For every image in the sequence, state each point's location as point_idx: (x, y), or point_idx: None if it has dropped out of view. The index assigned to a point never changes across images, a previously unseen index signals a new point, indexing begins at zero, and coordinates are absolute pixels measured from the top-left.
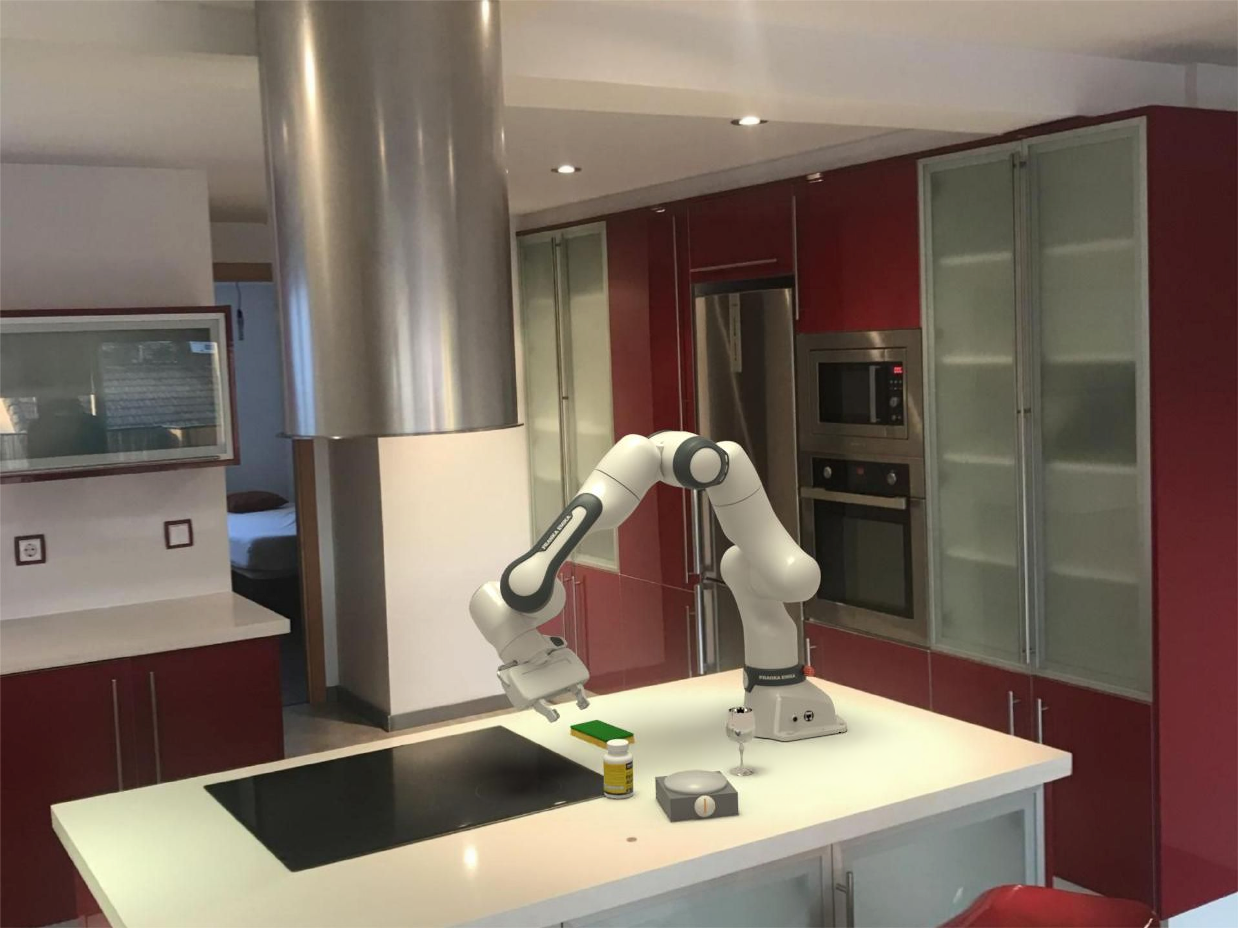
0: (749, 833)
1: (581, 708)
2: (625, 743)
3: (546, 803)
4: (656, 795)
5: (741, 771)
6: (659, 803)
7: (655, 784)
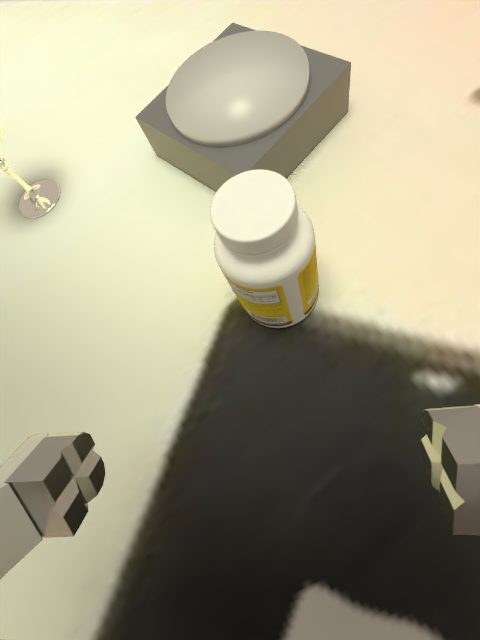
0: (305, 12)
1: (99, 471)
2: (248, 175)
3: None
4: None
5: (47, 189)
6: None
7: None
